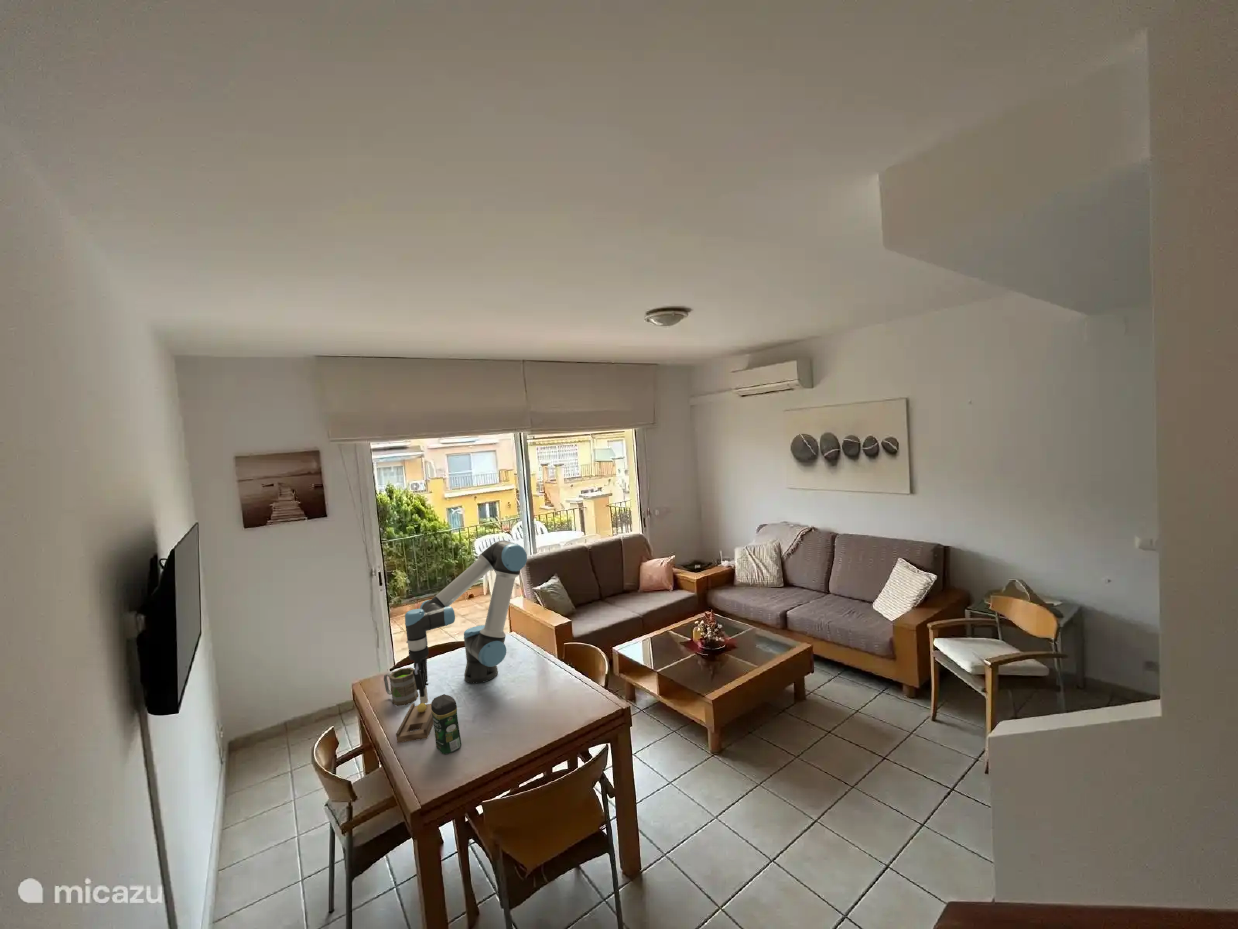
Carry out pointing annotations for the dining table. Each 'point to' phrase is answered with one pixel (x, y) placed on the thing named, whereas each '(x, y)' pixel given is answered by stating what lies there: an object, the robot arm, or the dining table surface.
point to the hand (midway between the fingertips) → (424, 702)
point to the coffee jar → (446, 724)
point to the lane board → (415, 724)
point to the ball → (421, 707)
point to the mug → (402, 686)
